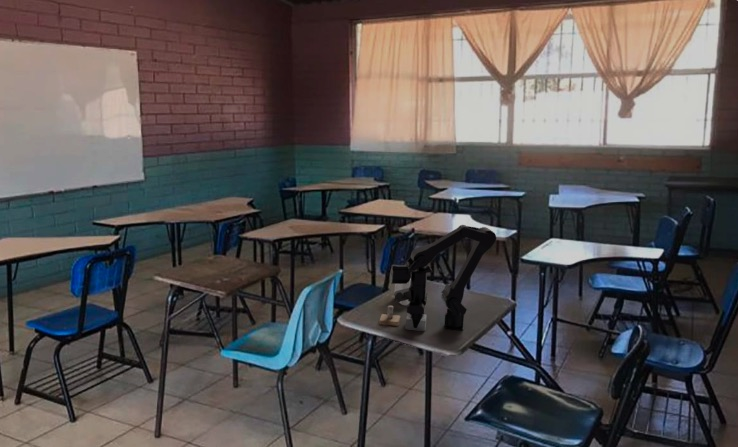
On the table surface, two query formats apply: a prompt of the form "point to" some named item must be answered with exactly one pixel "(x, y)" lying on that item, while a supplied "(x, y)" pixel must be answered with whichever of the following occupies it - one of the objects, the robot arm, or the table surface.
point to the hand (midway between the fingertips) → (416, 324)
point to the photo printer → (400, 287)
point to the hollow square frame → (420, 326)
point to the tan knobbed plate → (389, 318)
